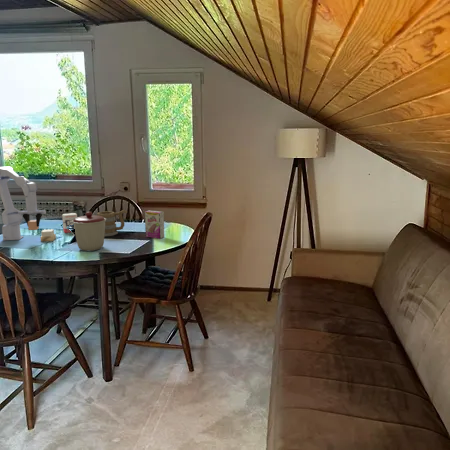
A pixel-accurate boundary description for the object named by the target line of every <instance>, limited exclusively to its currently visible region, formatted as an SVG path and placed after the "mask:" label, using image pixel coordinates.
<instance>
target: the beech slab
mask: <svg viewBox="0 0 450 450" xmlns="http://www.w3.org/2000/svg"><path fill="white" fill-rule="evenodd" d="M56 238H57V235H56V233H54V235H53V236H48V237H42V235H41V236H40V242H54V241H55V239H56Z"/></svg>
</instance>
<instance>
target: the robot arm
mask: <svg viewBox="0 0 450 450" xmlns="http://www.w3.org/2000/svg"><path fill="white" fill-rule="evenodd" d="M10 180H13V181H14V182H15V184H16V185H17V186H18V187H19V188H21V189H22V191H23V195H24V197H25V198H24V199H25V207H26V210H19V209H18V208H16V207H15V206H14V202H13V199H12V197H11V192H10V190H9V186H8V182H9V181H10ZM38 189H39V187H38V184H37V183H36V182H35V181H31V180H29V179H27V178H26V177H25V176H24V175H19V174H18V173H17V172H15V171H14V168H13V167H12V166H11V165H10V166H9V165H8V166H0V199H1V201H2V205H3V208H4V210H3V212H2V213H1V218H2V223H3V225H2V228H1V234H2V241H20V240H21V239H22V238H24V236H23V235H22V234H21V233H22V232H21V223H22V221H23V219H24V221H25V222H26V226H27V227H28V221H30V220H31V219H30V215H34V216H35V220H36V221H37V227H38V226H39V227H40V223H41V220H42V216H43V215H46V214H47V211H46V210H45V209H40V210H39V209H38V202H37V201H38V200H37V193H36V192H37V191H38Z"/></svg>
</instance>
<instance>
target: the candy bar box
mask: <svg viewBox="0 0 450 450" xmlns="http://www.w3.org/2000/svg"><path fill="white" fill-rule="evenodd" d="M144 223H145V224H144V226H145V230H144V231H145V238H150V239H157V240H158V239H159V240H162V239H164V238H165V212H164V211H158V210H146V211H144Z"/></svg>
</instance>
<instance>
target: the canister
mask: <svg viewBox="0 0 450 450" xmlns="http://www.w3.org/2000/svg"><path fill="white" fill-rule="evenodd" d="M105 221H106V218H104V217H102V216H97V215H96V214H94V215H93V212H92V211H86V212H85V215H82V216H77V218H75V219H74V220H72V222H73V224H74V229H75V232H74V234H75V239H76V243H77V247H78V249H79V250H81V251H84V252H93V251H98V250H100V249H103V247H104V243H105V236H104V235H105Z"/></svg>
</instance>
